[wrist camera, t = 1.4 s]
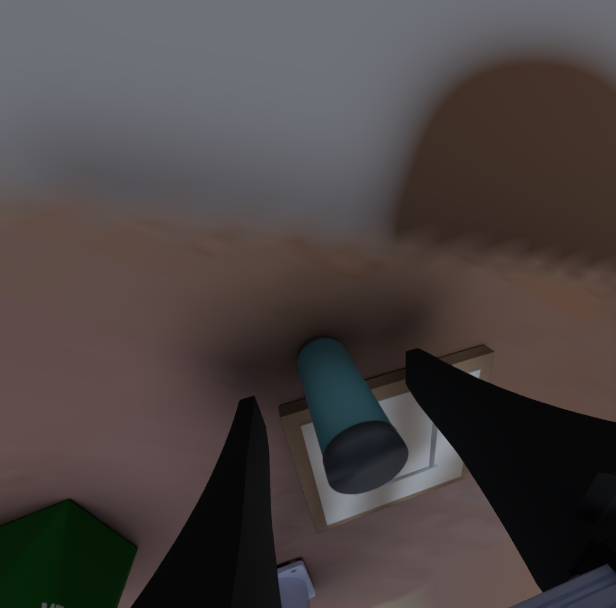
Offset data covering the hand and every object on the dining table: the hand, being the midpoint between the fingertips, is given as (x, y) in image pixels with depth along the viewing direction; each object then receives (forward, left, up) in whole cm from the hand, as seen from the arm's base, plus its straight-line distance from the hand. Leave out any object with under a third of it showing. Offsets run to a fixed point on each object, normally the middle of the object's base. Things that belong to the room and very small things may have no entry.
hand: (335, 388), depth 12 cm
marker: (0, 0, -3) cm, 3 cm away
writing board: (+4, -10, -3) cm, 11 cm away
